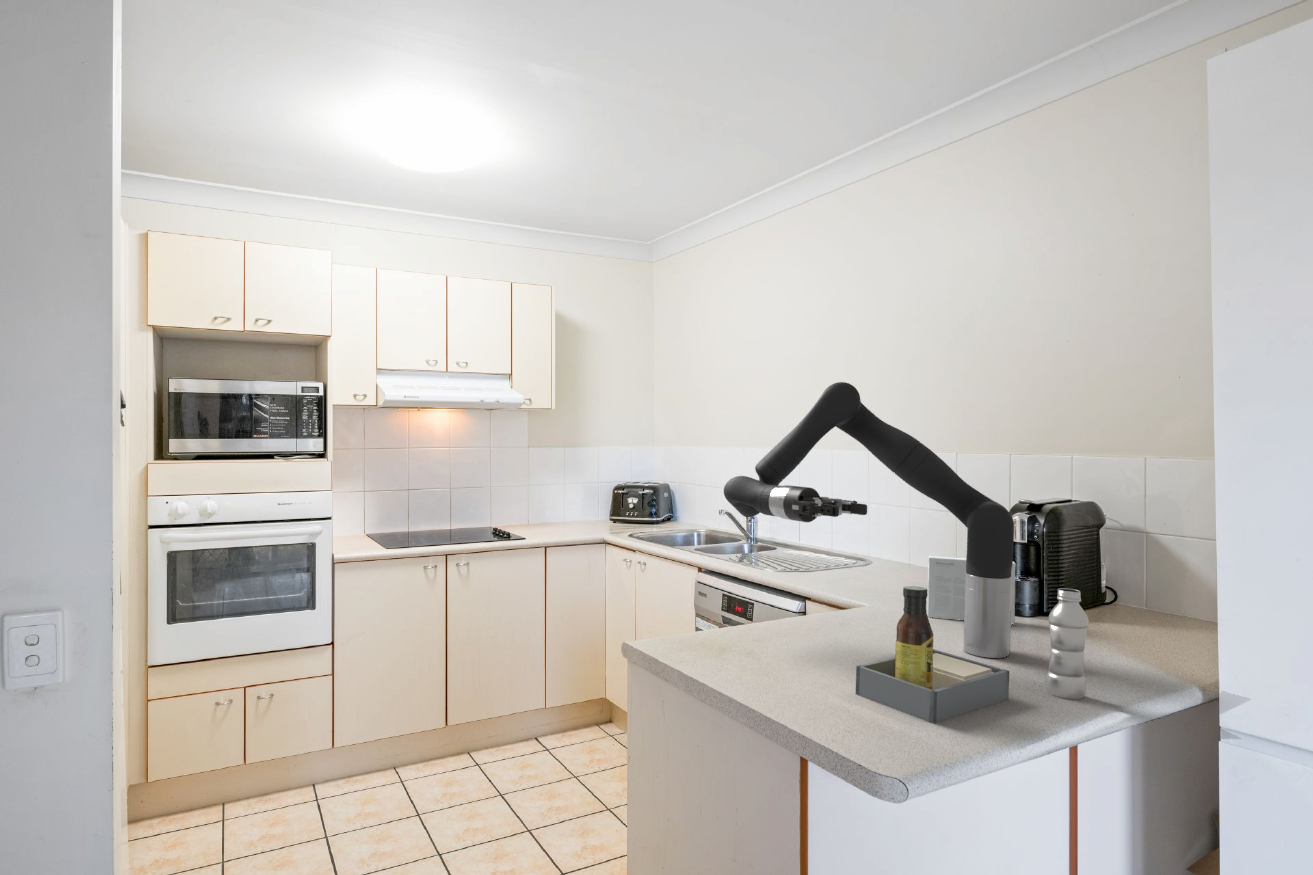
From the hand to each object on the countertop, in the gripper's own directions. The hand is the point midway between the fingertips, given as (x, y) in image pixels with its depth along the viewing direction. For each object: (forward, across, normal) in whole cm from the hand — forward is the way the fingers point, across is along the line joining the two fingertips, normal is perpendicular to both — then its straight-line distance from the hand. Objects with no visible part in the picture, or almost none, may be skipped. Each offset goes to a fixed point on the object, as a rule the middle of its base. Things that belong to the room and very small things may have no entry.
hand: (852, 510), depth 155 cm
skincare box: (-12, +61, +32) cm, 70 cm away
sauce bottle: (+21, -7, +31) cm, 38 cm away
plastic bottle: (+33, +21, +32) cm, 51 cm away
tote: (+21, -2, +32) cm, 38 cm away
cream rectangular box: (+21, +3, +31) cm, 38 cm away
